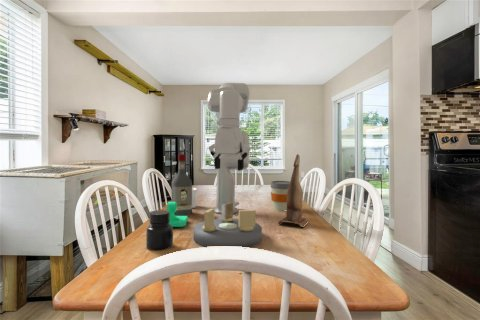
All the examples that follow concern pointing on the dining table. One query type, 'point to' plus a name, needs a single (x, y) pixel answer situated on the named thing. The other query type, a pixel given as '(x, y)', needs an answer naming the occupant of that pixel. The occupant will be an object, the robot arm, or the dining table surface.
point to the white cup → (194, 197)
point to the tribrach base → (228, 230)
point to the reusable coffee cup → (279, 194)
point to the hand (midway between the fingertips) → (228, 169)
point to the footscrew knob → (227, 212)
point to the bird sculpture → (294, 198)
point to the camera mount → (176, 220)
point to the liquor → (182, 189)
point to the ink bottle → (159, 231)
